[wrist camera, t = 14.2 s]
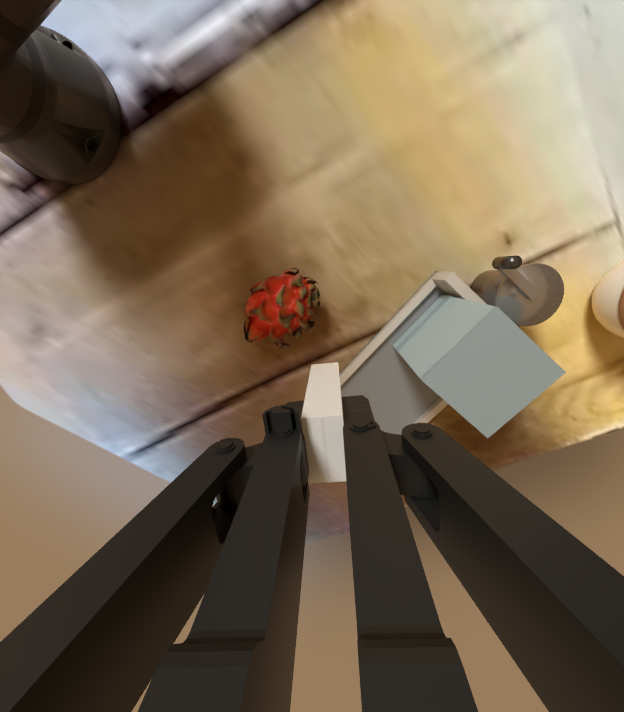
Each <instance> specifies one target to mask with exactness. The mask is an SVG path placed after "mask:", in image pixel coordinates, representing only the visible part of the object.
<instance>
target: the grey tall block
mask: <svg viewBox="0 0 624 712" xmlns="http://www.w3.org/2000/svg"><path fill="white" fill-rule="evenodd" d="M393 346H394V348H395V349H396V350H397V352H399V354H400V355H401V356H402V357H403V359H404V360H405V361H406V362H407V363H408V365H409V366H410V367H411V368H412V369H413V371H414V372H415V373H416V374H417V375H418V377H419V378H420V379H421V380H422V381H423V382H424V383H425V384H426V385H427V386H428V387H430V388H431V389H432V390H433V391H434V392H435V393H436V394H438V395H439V396H440V397H441V398H442V399H443V400H444V401H446V402H447V403H448V404H449V405H450V406H451V407H452V408H454V409H455V410H456V411H457V412H458V413H459V414H460V415H462V416H463V417H464V418H465V419H466V420H467V421H468V422H470V423H471V424H472V425H473V426H474V427H475V428H476V429H478V430H479V431H480V432H481V433H482V434H483V435H484V436H486V437H487V438H489V437H490V436H491V435H493V434H494V433H495V432H496V431H497V430H498V429H500V428H501V427H502V426H503V425H504V424H506V423H507V422H508V421H509V420H510V419H511V418H513V417H514V416H515V415H516V414H517V413H518V412H520V411H521V410H522V409H523V408H524V407H526V406H527V405H528V404H529V403H530V402H531V401H533V400H534V399H535V398H536V397H537V396H539V395H540V394H541V393H542V392H543V391H544V390H546V389H547V388H548V387H549V386H550V385H552V384H553V383H554V382H555V381H556V380H557V379H559V378H560V377H561V376H562V375H563V374H564V373H566V372H565V371H564V370H563V369H562V368H561V367H560V366H559V365H557V364H556V363H555V362H554V361H553V360H552V359H551V358H550V357H549V356H548V355H547V354H546V353H545V352H544V351H543V350H542V349H541V348H540V347H539V346H538V345H537V344H536V343H535V342H534V341H533V340H532V339H530V338H529V337H528V336H527V335H526V334H525V333H524V332H523V331H522V330H521V329H520V328H519V327H518V326H517V325H516V324H515V323H514V322H513V321H512V320H511V319H510V318H509V317H508V316H507V315H506V314H505V313H503V312H502V311H501V310H500V309H499V308H498V307H496V306H491V305H487V304H482V303H478V302H474V301H469V300H465V299H460V298H456V297H452V296H450V295H441V296H440V297H439V298H438V299H437V300H436V301H435V302H434V303H433V304H432V305H431V306H430V307H429V308H428V309H427V310H426V311H425V312H424V314H423V315H422V316H421V317H420V318H419V319H418V320H417V321H416V322H415V323H414V324H413V325H412V326H411V327H410V328H409V329H408V330H407V331H406V332H405V333H404V334H403V335H402V336H401V337H400V338H399V339H398V340H397V341H396V342H395V343H394V345H393Z"/></svg>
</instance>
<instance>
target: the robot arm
mask: <svg viewBox="0 0 624 712" xmlns="http://www.w3.org/2000/svg"><path fill="white" fill-rule="evenodd" d="M61 1H62V0H0V151H1V152H2V153H4V154H5V155H7V156H8V157H10V158H11V159H12V160H14V161H15V162H16V163H17V164H18V165H20V166H21V167H22V168H24V169H25V170H27V171H29V172H31V173H33V174H35V175H37V176H39V177H42V178H45V179H48V180H51V181H54V182H58V183H62V184H70V185H74V184H82V183H86V182H89V181H91V180H93V179H95V178H96V177H98V176H99V175H101V174H102V173H103V172H104V171H105V170H106V169H107V168H108V166H109V165H110V164H111V162H112V160H113V158H114V157H115V154H116V152H117V149H118V145H119V141H120V134H121V118H120V110H119V106H118V102H117V99H116V95H115V93H114V90H113V88H112V86H111V84H110V82H109V80H108V78H107V77H106V75H105V74H104V72H103V71H102V69H101V68H100V67H99V66H98V64H97V63H96V62H95V61H94V60H93V59H92V58H91V57H90V56H88V55H87V54H86V53H85V52H84V51H83V50H82V49H81V48H79V47H78V46H77V45H76V44H75V43H73V42H72V41H71V40H69V39H68V38H66V37H65V36H63V35H62V34H60V33H58V32H56V31H53V30H51V29H49V28H46V27H44V26H41V23H42V22H43V21H44V20H45V19H46V18H47V17H48V15H49V14H50V13H51V12H52V11H53V10H54V9H55V7H56V6H57V5H58V4H59V3H60V2H61ZM262 415H263V421H264V426H265V432H266V435H265V438H264V441H263V443H260V444H257V445H254V446H250V447H246V448H245V445H244V441H242V440H241V439H237V438H227V439H223V440H220V441H219V442H216V443H214V444H213V445H212V446H210V447H209V448H208V449H207V450H206V451H205V452H204V453H203V454H202V455H200V456H199V457H198V458H197V459H196V460H195V461H194V462H193V463H192V464H191V465H190V466H189V467H188V468H187V469H185V470H184V471H183V472H182V473H181V474H180V475H179V476H178V477H177V478H176V479H175V480H174V481H173V482H172V483H170V484H169V485H168V486H167V487H166V488H165V489H164V490H163V491H162V492H161V493H160V494H159V495H158V496H157V497H156V498H154V499H153V500H152V501H151V502H150V503H149V504H148V505H147V506H146V507H145V508H144V509H143V510H142V511H141V512H139V513H138V514H137V515H136V516H135V517H134V518H133V519H132V520H131V521H130V522H129V523H128V524H127V525H125V527H123V528H122V529H121V530H120V531H119V532H118V533H117V534H116V535H115V536H114V537H113V538H112V539H110V540H109V541H108V542H107V543H106V544H105V545H104V546H103V547H102V548H101V549H100V550H99V551H98V552H97V553H95V554H94V555H93V556H92V557H91V558H90V559H89V560H88V561H87V562H86V563H85V564H84V565H83V566H82V567H80V568H79V570H77V571H76V572H75V573H74V574H73V575H72V576H71V577H70V578H69V579H68V580H67V581H66V582H65V583H63V584H62V585H61V586H60V587H59V588H58V589H57V590H56V591H55V592H54V593H53V594H52V595H50V596H49V597H48V598H47V599H46V600H45V601H44V602H43V603H42V604H41V605H40V606H39V607H38V608H36V609H35V610H34V611H33V612H32V614H30V615H29V616H28V617H27V618H26V619H25V620H24V621H23V622H21V624H19V625H18V626H17V627H16V628H15V629H14V630H13V631H12V632H11V633H10V634H9V635H8V636H7V637H6V638H4V639H3V640H2V641H1V642H0V712H131V711H132V710H133V708H134V707H135V705H136V703H137V702H138V700H139V698H140V696H141V695H142V694H143V692H144V690H145V689H146V687H147V685H148V684H149V682H150V681H151V682H150V685H149V687H148V689H147V692H146V694H145V696H144V699H143V701H142V703H141V705H140V708H139V710H138V712H290V704H291V692H292V680H293V670H294V658H295V647H296V635H297V624H298V614H299V603H300V590H301V580H302V569H303V558H304V546H305V535H306V524H307V513H308V502H309V486H308V474H309V481H310V483H326V482H342V481H347V495H348V509H349V522H350V536H351V549H352V562H353V577H354V591H355V605H356V618H357V632H358V657H359V671H360V687H361V701H362V712H478V710H477V707H476V704H475V701H474V698H473V695H472V692H471V689H470V686H469V683H468V680H467V677H466V674H465V671H464V668H463V665H462V662H461V659H460V657H459V654H458V651H457V649H456V647H455V645H454V643H453V641H452V640H451V638H446V637H445V635H444V633H443V630H442V627H441V624H440V621H439V618H438V614H437V611H436V608H435V605H434V601H433V598H432V595H431V592H430V588H429V585H428V582H427V579H426V576H425V572H424V569H423V566H422V563H421V559H420V556H419V553H418V550H417V547H416V543H415V540H414V537H413V534H412V530H411V527H410V524H409V520H408V517H407V514H406V511H405V507H404V504H403V501H402V498H401V495H404V498H405V501H406V503H407V504H408V506H409V507H410V509H411V510H412V512H413V513H414V515H415V516H416V517H417V519H418V521H419V522H420V523H421V525H422V526H423V528H424V529H425V531H426V532H427V534H428V535H429V537H430V538H431V540H432V541H433V543H434V544H435V545H436V547H437V548H438V550H439V551H440V553H441V554H442V555H443V557H444V559H445V560H446V561H447V563H448V564H449V566H450V567H451V568H452V570H453V572H454V573H455V575H456V576H457V578H458V579H459V581H460V582H461V583H462V585H463V586H464V588H465V589H466V591H467V592H468V594H469V595H470V597H471V598H472V600H473V601H474V602H475V604H476V605H477V607H478V608H479V610H480V611H481V613H482V614H483V616H484V617H485V619H486V620H487V622H488V623H489V625H490V626H491V627H492V629H493V630H494V632H495V633H496V635H497V636H498V638H499V639H500V640H501V642H502V644H503V645H504V646H505V648H506V649H507V651H508V652H509V654H510V655H511V657H512V658H513V660H514V661H515V663H516V664H517V666H518V667H519V668H520V670H521V671H522V673H523V674H524V676H525V677H526V679H527V680H528V682H529V683H530V685H531V686H532V687H533V689H534V690H535V692H536V693H537V695H538V696H539V698H540V699H541V701H542V702H543V704H544V705H545V707H546V708H547V709H548V711H549V712H624V576H623V575H621V574H620V573H619V572H618V571H616V570H615V569H614V568H613V567H611V566H610V565H609V564H608V563H607V562H605V561H604V560H603V559H601V558H600V557H599V556H598V555H596V554H595V553H594V552H593V551H592V550H590V549H589V548H588V547H587V546H585V545H584V544H583V543H581V542H580V541H579V540H578V539H577V538H575V537H574V536H573V535H571V534H570V533H569V532H568V531H567V530H565V529H564V528H563V527H562V526H561V525H559V524H558V523H557V522H555V521H554V520H553V519H552V518H551V517H549V516H548V515H547V514H546V513H544V512H543V511H542V510H541V509H539V508H538V507H537V506H536V505H534V504H533V503H532V502H531V501H529V500H528V499H527V498H526V497H524V496H523V495H522V494H521V493H519V492H518V491H517V490H516V489H514V488H513V487H512V486H511V485H509V484H508V483H507V482H506V481H505V480H503V479H502V478H501V477H499V476H498V475H497V474H496V473H495V472H493V471H492V470H491V469H490V468H488V467H487V466H486V465H485V464H483V463H482V462H481V461H480V460H478V459H477V458H476V457H475V456H473V455H472V454H471V453H470V452H468V451H467V450H466V449H465V448H463V447H462V446H461V445H460V444H458V443H457V442H456V441H455V440H454V439H452V438H451V437H450V436H449V435H447V434H446V433H445V432H444V431H442V430H441V429H440V428H438V427H436V426H434V425H431V424H428V423H413V424H410V425H407V426H405V427H404V428H403V429H402V432H401V434H402V435H400V434H392V433H387V432H384V431H382V430H380V426H379V425H378V423H377V422H375V420H374V416H373V413H372V410H371V406H370V403H369V400H368V398H366V397H365V396H363V395H357V396H345V397H341V386H340V376H339V366H338V362H335V363H325V364H314V365H311V369H310V375H309V380H308V385H307V390H306V395H305V400H304V401H296V402H288V403H287V404H285V405H281V406H276V407H273V408H270V409H268V410H266V411H265V412H264V413H263V414H262ZM400 494H401V495H400ZM215 497H216V498H217V503H216V504H215V505H214V506H213V507H212V505H213V501H214V499H215ZM204 593H205V594H204ZM203 595H204V597H203V600H202V602H201V605H200V608H199V610H198V613H197V615H196V618H195V621H194V623H193V626H192V628H191V631H190V633H189V635H188V637H187V639H186V640H185V641H184V642H183V643H180V644H173V643H174V642H175V640H176V638H177V637H178V635H179V634H180V632H181V630H182V629H183V627H184V626H185V624H186V622H187V621H188V619H189V617H190V616H191V614H192V613H193V611H194V609H195V608H196V606H197V604H198V603H199V601H200V600H201V598H202V596H203ZM152 677H153V678H152ZM151 679H152V680H151Z"/></svg>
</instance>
